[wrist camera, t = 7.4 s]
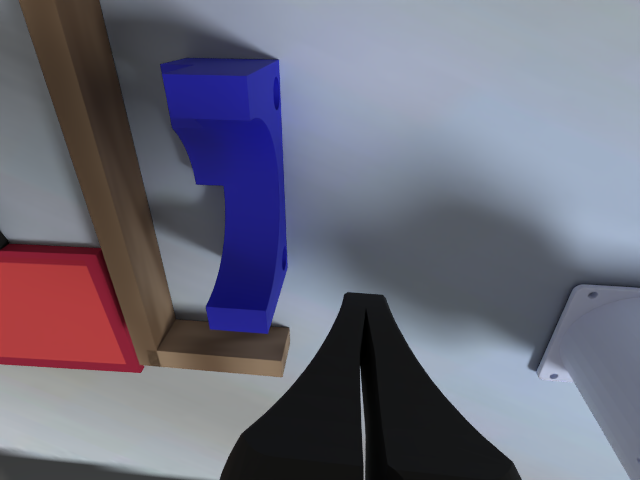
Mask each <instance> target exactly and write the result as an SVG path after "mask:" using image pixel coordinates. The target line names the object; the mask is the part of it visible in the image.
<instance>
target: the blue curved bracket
mask: <svg viewBox="0 0 640 480" xmlns="http://www.w3.org/2000/svg"><path fill="white" fill-rule="evenodd" d="M160 66H161V71H162V77H163V82H164V87H165V93H166V98H167V103H168V109H169V114H170V119H171V125H172V128H173V130H174V131H175V132H176V133H177V135H178V136H179V138H180V139H181V141H182V143H183V145H184V147H185V149H186V151H187V154H188V156H189V159H190V162H191V165H192V168H193V172H194V176H195V181H196V184H198V185H219V186H224V196H225V235H224V245H223V252H222V258H221V263H220V268H219V272H218V276H217V280H216V283H215V286H214V289H213V292H212V294H211V297H210V299H209V301H208V303H207V305H206V311H207V316H208V322H209V327H210V329H211V330H224V331H237V332H250V333H263V334H268V332H269V329H270V325H271V322H272V318H273V315H274V312H275V308H276V305H277V302H278V298H279V295H280V292H281V288H282V285H283V281H284V278H285V275H286V271H287V268H288V267H287V243H286V219H285V195H284V170H283V146H282V122H281V98H280V74H279V60H272V59H221V58H184V59H180V60H176V61H171V62H167V63H163V64H160Z"/></svg>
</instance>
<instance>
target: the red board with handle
mask: <svg viewBox="0 0 640 480" xmlns="http://www.w3.org/2000/svg"><path fill="white" fill-rule="evenodd" d="M0 364H5V365H21V366H37V367H53V368H69V369H86V370H102V371H118V372H134V373H141V372H142V370H143V368H144V366H143V365H140V364H139V361H138V358H137V355H136V352H135V349H134V346H133V343H132V340H131V337H130V334H129V331H128V328H127V325H126V322H125V319H124V316H123V313H122V310H121V307H120V304H119V301H118V298H117V295H116V292H115V289H114V286H113V283H112V280H111V277H110V274H109V271H108V268H107V265H106V262H105V259H104V256H103V253H102V250H101V248H89V247H68V246H48V245H27V244H9V242H8V240H7V239H6V238H5V237H4V236H3V235H2V233H1V232H0Z"/></svg>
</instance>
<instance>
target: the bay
mask: <svg viewBox="0 0 640 480" xmlns="http://www.w3.org/2000/svg"><path fill="white" fill-rule="evenodd" d="M19 3H20V6H21V9H22V12H23V15H24V18H25V21H26V24H27V27H28V30H29V33H30V36H31V39H32V42H33V45H34V48H35V51H36V54H37V57H38V60H39V63H40V66H41V69H42V72H43V75H44V78H45V81H46V84H47V87H48V90H49V93H50V96H51V99H52V102H53V105H54V108H55V111H56V114H57V117H58V120H59V123H60V126H61V129H62V132H63V135H64V138H65V141H66V144H67V147H68V150H69V153H70V156H71V159H72V162H73V165H74V168H75V171H76V174H77V177H78V180H79V183H80V186H81V189H82V192H83V195H84V198H85V201H86V204H87V207H88V210H89V213H90V216H91V219H92V222H93V225H94V228H95V231H96V234H97V237H98V240H99V243H100V246H101V250H102V253H103V256H104V259H105V262H106V265H107V268H108V271H109V274H110V277H111V280H112V283H113V286H114V289H115V292H116V295H117V298H118V301H119V304H120V307H121V310H122V313H123V316H124V319H125V322H126V325H127V328H128V331H129V334H130V337H131V340H132V343H133V346H134V349H135V352H136V355H137V358H138V361H139V364H140V365H147V366H159V367H170V368H182V369H193V370H205V371H217V372H228V373H240V374H251V375H263V376H274V377H283V372H284V368H285V363H286V359H287V354H288V350H289V345H290V333H289V328H283V327H270V329H269V332H268V334H263V333H250V332H237V331H224V330H211V329H210V327H209V322H204V321H191V320H178V319H176V317H175V313H174V309H173V305H172V301H171V297H170V292H169V288H168V284H167V280H166V276H165V272H164V267H163V263H162V259H161V255H160V251H159V247H158V243H157V238H156V234H155V230H154V226H153V222H152V218H151V214H150V209H149V205H148V201H147V197H146V193H145V189H144V185H143V180H142V176H141V172H140V168H139V164H138V160H137V155H136V151H135V147H134V143H133V139H132V135H131V131H130V126H129V122H128V118H127V114H126V110H125V106H124V102H123V97H122V93H121V89H120V85H119V81H118V77H117V72H116V68H115V64H114V60H113V56H112V52H111V48H110V43H109V39H108V35H107V31H106V27H105V23H104V19H103V14H102V10H101V6H100V2H99V0H19Z"/></svg>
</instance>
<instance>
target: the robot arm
mask: <svg viewBox="0 0 640 480" xmlns="http://www.w3.org/2000/svg"><path fill="white" fill-rule="evenodd" d="M591 292H593V293H592V294H590V295H589V293H591ZM360 368H361V381H362V393H363V405H364V418H365V434H366V461H365V480H522V479H521V477H520V475H519V473H518V471H517V469H516V467H515V465H514V463H513V462H512V461H511V460H510V459H509V458H508V457H506V456H505V455H504V454H503V453H502V452H501V451H499V450H498V449H497V448H496V447H495V446H494V445H493V444H491V443H490V442H489V441H488V440H487V439H486V438H484V437H483V436H482V435H481V434H480V433H479V432H478V431H477V430H476V429H475V428H474V427H473V426H472V425H471V424H470V423H469V422H468V421H467V420H466V419H465V418H464V417H463V416H462V415H461V414H460V412H459V411H458V410H457V409H456V408H455V407H454V406H453V405H452V404H451V403H450V402H449V400H448V399H447V398H446V397H445V396H444V395H443V394H442V392H441V391H440V390H439V389H438V387H437V386H436V385H435V384H434V382H433V381H432V380H431V378H430V377H429V376H428V374H427V373H426V372H425V370H424V369H423V367H422V366H421V365H420V363H419V362H418V360H417V359H416V357H415V355H414V354H413V352H412V351H411V349H410V347H409V346H408V344H407V342H406V341H405V339H404V337H403V335H402V333H401V331H400V330H399V328H398V326H397V324H396V322H395V320H394V318H393V315H392V313H391V311H390V308H389V306H388V303H387V300H386V298H385V297H384V295H378V294H364V293H351V292H347V293H346V294H344V298H343V302H342V305H341V308H340V311H339V313H338V316H337V318H336V320H335V322H334V324H333V326H332V328H331V330H330V332H329V334H328V336H327V337H326V339H325V341H324V342H323V344H322V346H321V347H320V349H319V351H318V352H317V354H316V355H315V357H314V358H313V360H312V361H311V362H310V364H309V365H308V366H307V368H306V369H305V370H304V372H303V373H302V374H301V375H300V377H299V378H298V379H297V380H296V382H295V383H294V384H293V385H292V386H291V387H290V389H289V390H288V391H287V392H286V393H285V394H284V395H283V396H282V397H281V398H280V399H279V400H278V401H277V402H276V403H275V404H274V405H273V406H272V407H271V408H270V409H269V410H268V411H267V412H266V413H265V414H264V415H263V416H262V417H260V418H259V419H258V420H257V421H256V422H255V423H253V424H252V425H251V426H250V427H249V428H248V429H246V430H245V431H244V432H243V433H242V434H241V435H240V437H239V439H238V440H237V442H236V444H235V446H234V448H233V449H232V451H231V453H230V455H229V457H228V459H227V462H226V464H225V466H224V469H223V471H222V474H221V477H220V480H363V450H362V429H361V401H360ZM537 375H538V377H539V378H540V379H541V380H548V381H560V382H572V383H575V385H576V387H577V388H578V390H579V392H580V393H581V395H582V397H583V399H584V400H585V402H586V404H587V405H588V407H589V409H590V411H591V412H592V414H593V416H594V417H595V419H596V421H597V423H598V424H599V426H600V428H601V429H602V431H603V433H604V435H605V436H606V438H607V440H608V442H609V443H610V445H611V447H612V448H613V450H614V452H615V454H616V455H617V457H618V459H619V460H620V462H621V464H622V466H623V467H624V469H625V471H626V472H627V474H628V476H629V478H630V479H631V480H640V288H633V287H618V286H602V285H586V284H582V285H578V286H576V287H575V288H574V289H573V290H572V292H571V294H570V297H569V299H568V301H567V304H566V306H565V308H564V310H563V313H562V315H561V317H560V319H559V322H558V324H557V326H556V328H555V331H554V333H553V335H552V338H551V340H550V342H549V344H548V347H547V349H546V351H545V353H544V356H543V358H542V360H541V362H540V365H539V367H538V369H537Z"/></svg>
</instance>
